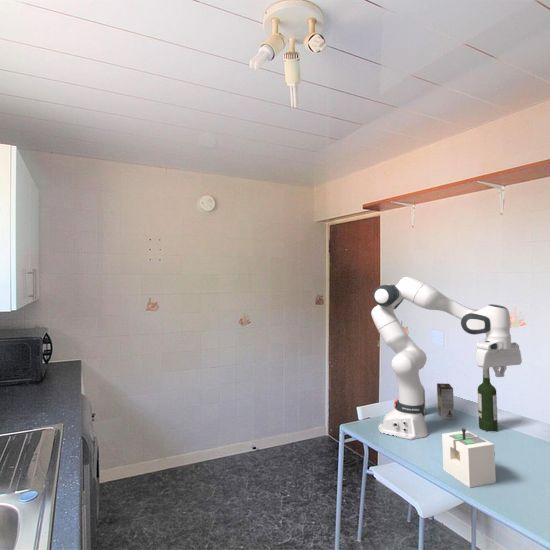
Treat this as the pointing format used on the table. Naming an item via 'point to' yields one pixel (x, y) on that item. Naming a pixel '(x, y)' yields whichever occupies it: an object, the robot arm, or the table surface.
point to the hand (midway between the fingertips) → (499, 376)
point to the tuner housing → (469, 458)
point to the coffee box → (445, 401)
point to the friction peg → (463, 439)
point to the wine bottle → (487, 404)
